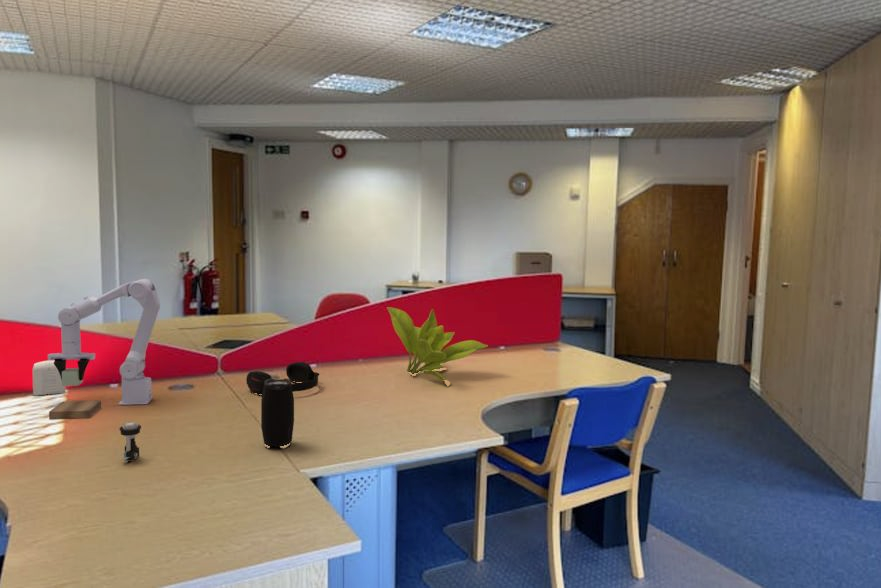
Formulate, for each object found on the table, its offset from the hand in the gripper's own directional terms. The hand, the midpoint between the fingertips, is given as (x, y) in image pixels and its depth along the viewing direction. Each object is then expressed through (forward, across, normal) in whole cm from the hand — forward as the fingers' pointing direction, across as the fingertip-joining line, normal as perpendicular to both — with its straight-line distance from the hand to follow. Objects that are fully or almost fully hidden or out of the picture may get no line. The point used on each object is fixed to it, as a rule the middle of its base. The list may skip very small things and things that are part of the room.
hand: (72, 379), depth 227 cm
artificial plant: (+9, -132, -27) cm, 135 cm away
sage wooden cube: (+1, 0, 0) cm, 1 cm away
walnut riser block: (+9, -5, +12) cm, 16 cm away
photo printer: (+9, +12, -14) cm, 20 cm away
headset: (+9, -71, -15) cm, 73 cm away
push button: (+9, -33, +58) cm, 67 cm away
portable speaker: (+9, -72, +51) cm, 89 cm away
